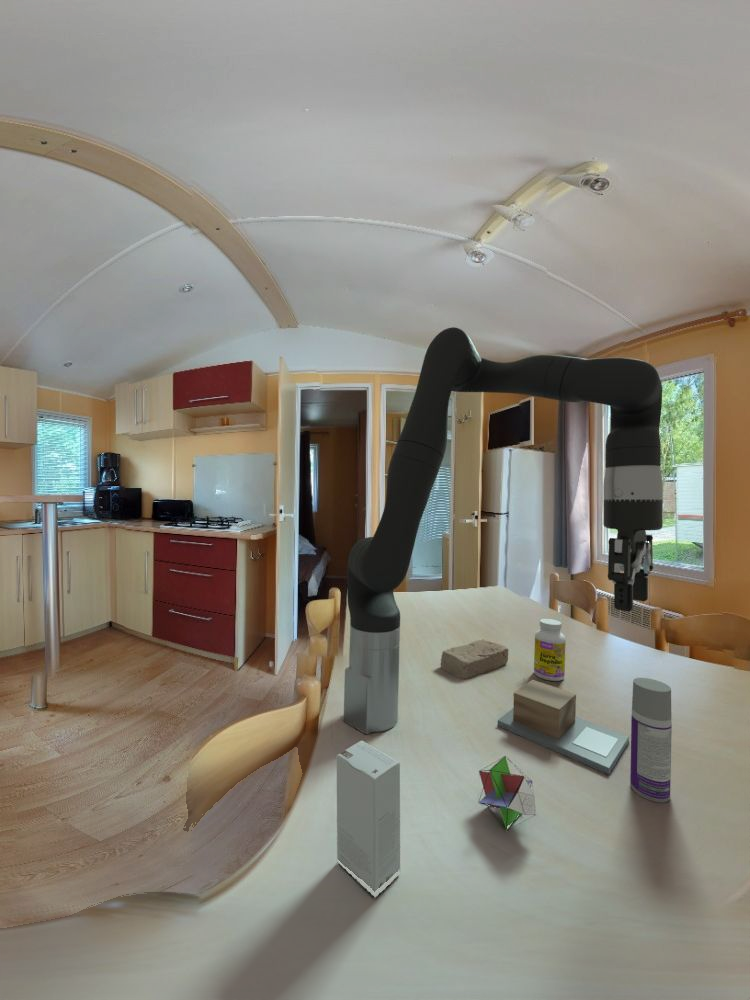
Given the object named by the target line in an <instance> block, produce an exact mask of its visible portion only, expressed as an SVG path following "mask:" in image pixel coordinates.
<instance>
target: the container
mask: <svg viewBox="0 0 750 1000" xmlns="http://www.w3.org/2000/svg"><path fill="white" fill-rule="evenodd" d="M631 698H632V699H631V702H632V703H631V716H630V717H631V722H630V723H631V725H630V726H631V727H630V731H631V733H630V771H629V772H630V775H629V776H630V778H629V779H630V783H629V785H630V787H631V788H632V790H633V792H635V793H636V794H638V795H639V796H641V797H642V798H643V799H646V800H648V801H651V802H655V803H667V802H669V801H670V800H671V780H672V779H671V775H672V774H671V773H672V772H671V771H672V768H671V767H672V728H673V725H672V720H673V719H672V688H671V687H670V686H669V685H668V684H666V683H665V682H662V681H659V680H656V679H653V678H648V677H635V678H634V679H633V680H632V697H631Z"/></svg>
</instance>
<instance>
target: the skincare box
mask: <svg viewBox="0 0 750 1000" xmlns="http://www.w3.org/2000/svg"><path fill="white" fill-rule="evenodd" d="M335 759H336V840H337V841H336V859H338V860H339V861H340V862H341V863H342V864H343V865H344V866H345V867H347V868H348V869H349V870H350V871H352V872H353V873H354V874H355V875H356V876H357V877H358V878H360V879H362V880H363V881H364V882H365V883H366V884H367V885H368V886H370V888H372V890H373V891H374V892H375V891H376V890H377V889H378V888H380V887H381V886H382V885H383V884H384V883H385V882H387V881H388V880H389V879H390V878H391V877H392V876H393V875H394V874H395V873H396V872H398V870H399V869H400V870H401V780H400V779H401V763H400V762H399V761H398V760H396V759H394V758H393V757H391V756H389V755H387V754H386V753H384V752H383V751H381V750H379V749H377V748H375V747H374V746H373V745H371V744H370V743H367V742H365V741H364V740H359V741H358V742H355V744H353V745H351V746H350V747H348V748H346V749H345V750H343V751H342V752H340V753H338V754H337V755H336V758H335Z"/></svg>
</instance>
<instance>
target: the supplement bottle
mask: <svg viewBox="0 0 750 1000" xmlns="http://www.w3.org/2000/svg"><path fill="white" fill-rule="evenodd" d="M539 626H540V629H538V630H536V632H535V633H534V652H533V653H534V655H533V656H534V661H533V662H534V663H533V672H534V674H535V676H537V677H538V678H540V679H542V680H546V681H551V682H559V681H563V680H564V678H565V670H566V669H565V668H566V667H565V666H566V640H567V639H566V636H565V635H564V633H562V632H561V630H562V622H561V621H559V620H557V619H551V618H541V619H540V620H539Z"/></svg>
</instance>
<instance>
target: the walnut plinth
mask: <svg viewBox="0 0 750 1000" xmlns="http://www.w3.org/2000/svg"><path fill="white" fill-rule="evenodd" d="M576 700H577V693H574V692H571V691H567V690H564V689H562V688H558V687H555V686H552V685H550V684H547V683H544V682H541V681H537V680H534V679H531V680H530V681H528V682H527V683H525V684H524V685H523V686H521V687H520V688H518V689H517V690H516V691H514V692H513V708H512V709H513V721H516V722H518V723H521V724H523V725H525V726H528V727H530V728H533V729H535V730H537V731H540V732H542V733H545V734H547V735H549V736H552V737H554V738H556V739H560V738H561V737H562V736H563V734H564V733H565V732H566V731H567V730H568V729H569V728H570V727H571V726H572V725H573V724H574V723H575V716H576V709H577V707H576V706H577V705H576V702H577V701H576Z"/></svg>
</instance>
